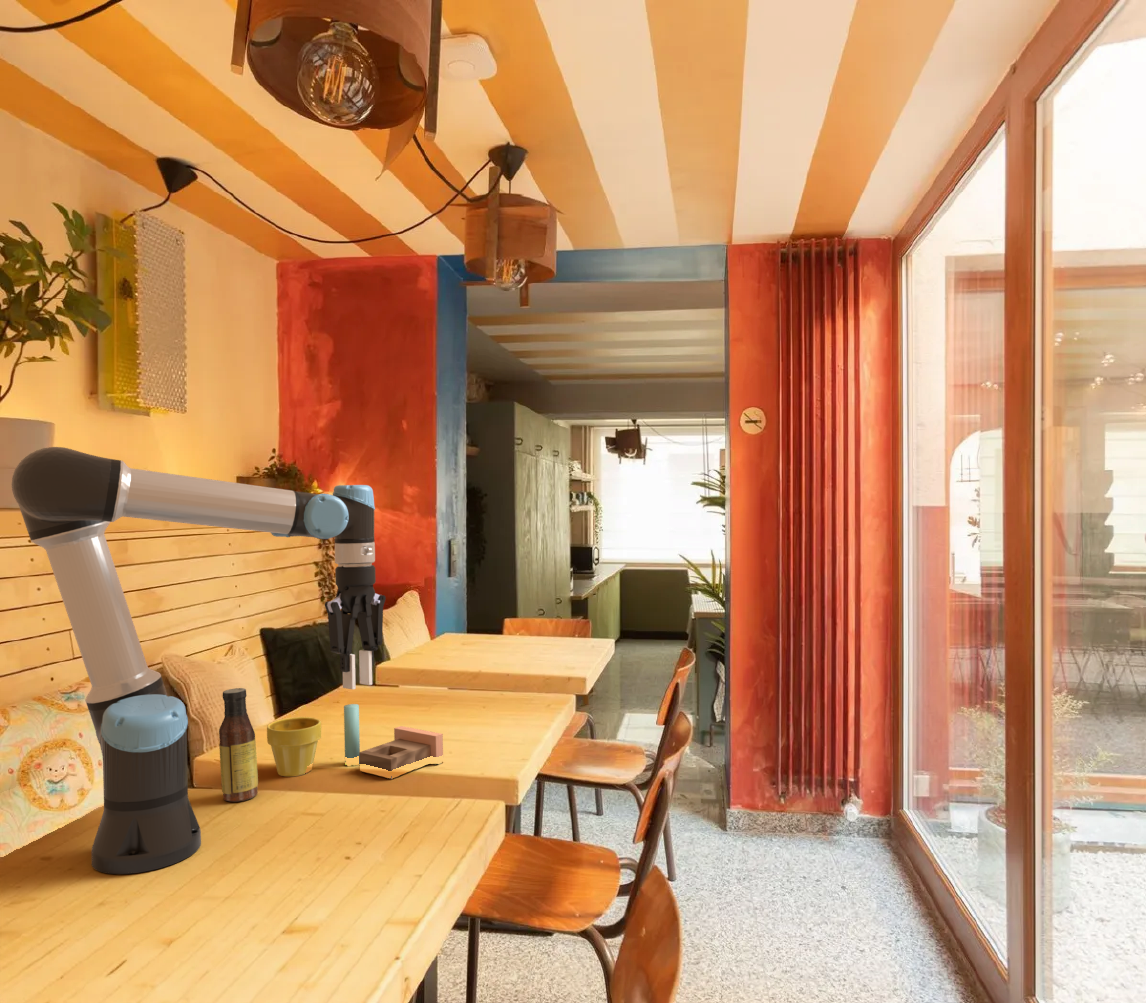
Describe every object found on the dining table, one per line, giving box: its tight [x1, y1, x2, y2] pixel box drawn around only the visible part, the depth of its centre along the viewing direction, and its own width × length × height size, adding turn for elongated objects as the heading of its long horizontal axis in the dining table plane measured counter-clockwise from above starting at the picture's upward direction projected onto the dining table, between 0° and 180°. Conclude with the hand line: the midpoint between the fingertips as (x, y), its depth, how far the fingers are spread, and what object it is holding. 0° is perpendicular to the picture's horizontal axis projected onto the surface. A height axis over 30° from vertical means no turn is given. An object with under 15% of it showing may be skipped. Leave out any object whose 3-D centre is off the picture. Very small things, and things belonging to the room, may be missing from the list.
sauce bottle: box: [218, 687, 259, 803], centre depth 154 cm, size 6×6×20 cm
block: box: [359, 739, 431, 780], centre depth 169 cm, size 11×9×4 cm
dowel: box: [343, 703, 361, 758], centre depth 172 cm, size 3×3×12 cm
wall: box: [393, 725, 444, 757], centre depth 174 cm, size 2×12×6 cm, turn 56°
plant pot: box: [266, 716, 322, 778], centre depth 168 cm, size 10×10×10 cm
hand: (357, 685), depth 161 cm, fingers open, 3 cm apart
